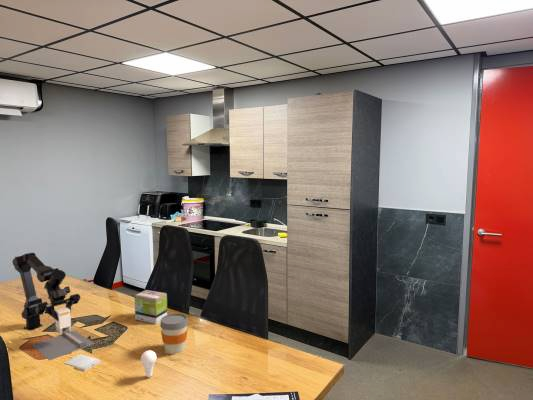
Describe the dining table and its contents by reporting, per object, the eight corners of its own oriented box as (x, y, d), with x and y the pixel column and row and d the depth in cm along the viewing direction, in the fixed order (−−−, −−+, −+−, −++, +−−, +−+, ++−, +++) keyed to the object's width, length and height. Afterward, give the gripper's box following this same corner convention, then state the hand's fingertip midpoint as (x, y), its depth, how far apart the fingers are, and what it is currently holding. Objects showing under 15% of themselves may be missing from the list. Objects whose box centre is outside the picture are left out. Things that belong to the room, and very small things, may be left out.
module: (56, 330, 176) (54, 310, 175) (67, 326, 180) (66, 307, 179) (60, 333, 173) (59, 312, 172) (71, 329, 177) (70, 309, 176)
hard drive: (64, 362, 160) (85, 368, 155) (80, 353, 167) (100, 359, 162) (64, 366, 160) (85, 372, 155) (80, 357, 167) (100, 362, 162)
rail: (62, 335, 186) (62, 332, 186) (68, 333, 188) (68, 330, 188) (80, 347, 173) (79, 344, 173) (86, 345, 176) (86, 341, 175)
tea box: (134, 320, 206) (133, 294, 204) (146, 313, 215) (145, 289, 213) (156, 324, 200) (155, 298, 198) (168, 317, 209) (167, 292, 208)
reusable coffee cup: (193, 345, 177) (192, 315, 176) (179, 358, 165) (178, 326, 164) (171, 341, 181) (170, 311, 180) (155, 353, 169) (154, 322, 168)
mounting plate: (31, 346, 176) (31, 344, 176) (74, 331, 192) (74, 330, 192) (49, 361, 162) (49, 360, 162) (94, 344, 178) (94, 343, 178)
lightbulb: (143, 373, 153) (142, 347, 152) (158, 372, 154) (157, 347, 153) (139, 381, 147) (138, 355, 146) (155, 380, 148) (154, 354, 147)
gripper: (36, 287, 170) (46, 316, 164) (78, 277, 184) (88, 304, 178) (31, 299, 176) (40, 328, 170) (72, 289, 190) (82, 315, 184)
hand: (64, 318), depth 175 cm, fingers closed on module, 5 cm apart
